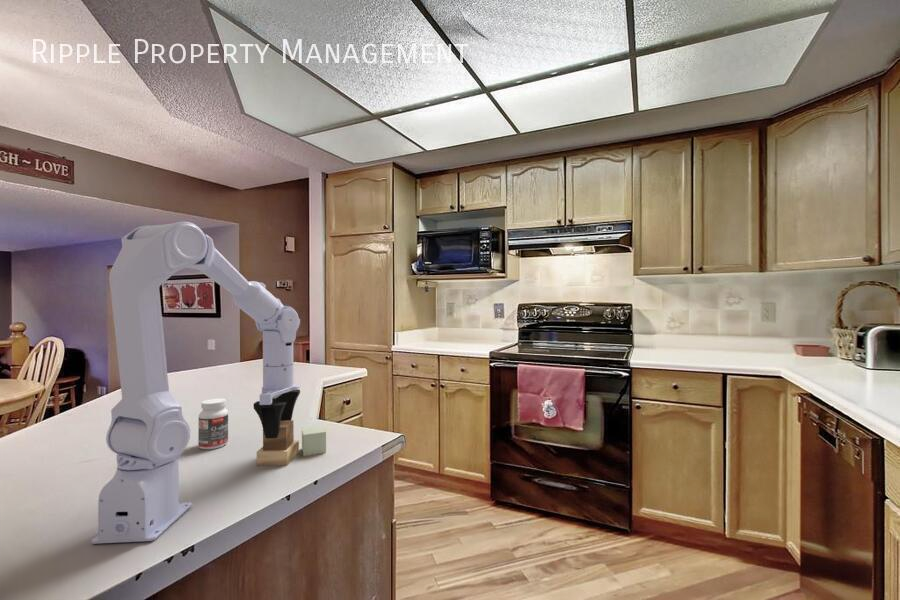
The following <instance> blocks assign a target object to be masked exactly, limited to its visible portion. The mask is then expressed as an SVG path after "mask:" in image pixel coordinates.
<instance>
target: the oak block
mask: <svg viewBox="0 0 900 600" xmlns="http://www.w3.org/2000/svg"><path fill="white" fill-rule="evenodd" d="M299 444H300V440H294V442H293V443H292V444H291V445H290V446H289V447H288V449H287V450H265V451H263V446H262V447H261V448H259V449H258V450H257V451H256V466H288V465H289V464H290V463H291V462H292V461H293V460H295V458H296V457H297V456H298V455H299V454H300V452H299V450H300V448H299V447H300V445H299ZM298 453H299V454H298ZM297 454H298V455H297ZM296 455H297V456H296ZM295 456H296V457H295Z"/></svg>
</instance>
